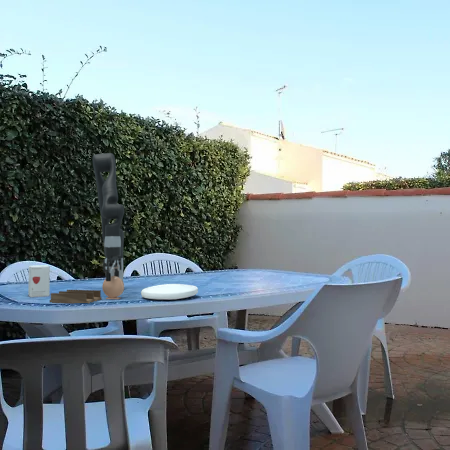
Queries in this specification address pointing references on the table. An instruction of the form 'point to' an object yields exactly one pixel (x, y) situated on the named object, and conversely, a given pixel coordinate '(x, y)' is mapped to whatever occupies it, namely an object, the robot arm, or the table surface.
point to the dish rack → (76, 296)
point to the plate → (169, 291)
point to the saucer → (113, 287)
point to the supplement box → (39, 280)
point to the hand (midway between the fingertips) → (112, 280)
